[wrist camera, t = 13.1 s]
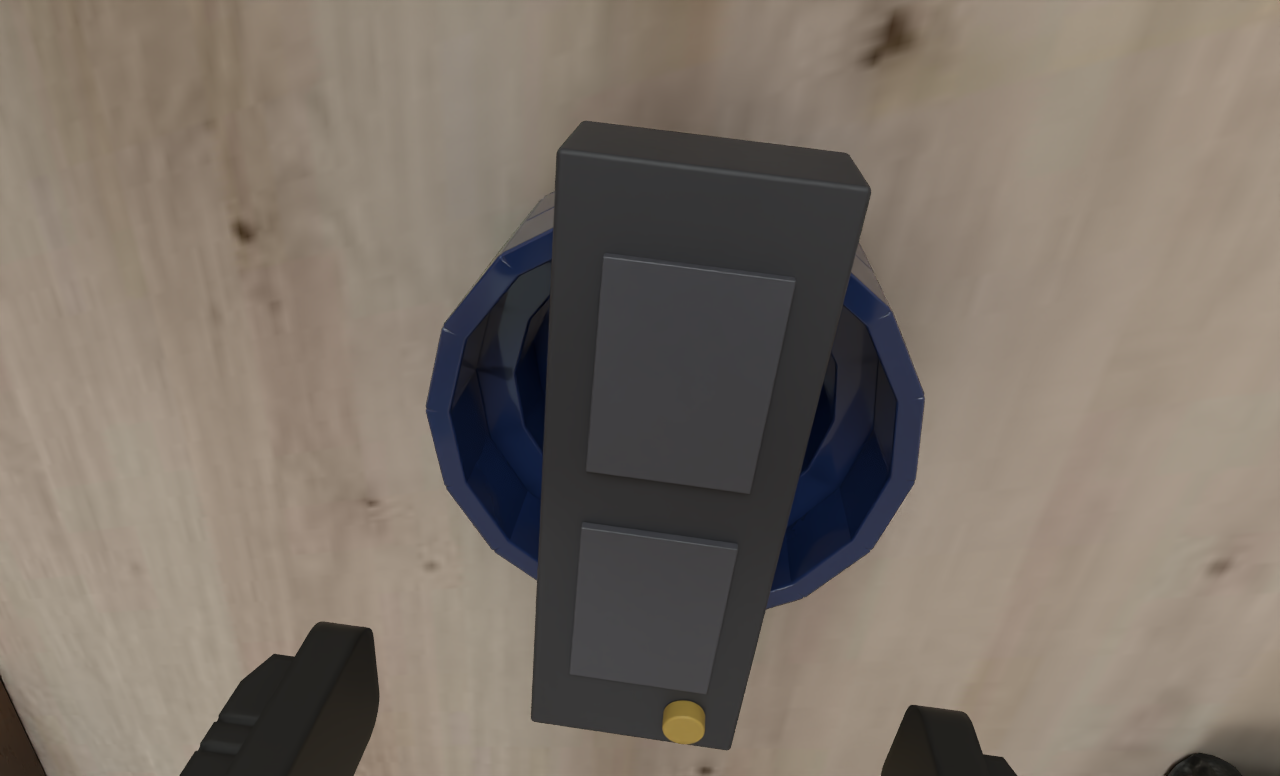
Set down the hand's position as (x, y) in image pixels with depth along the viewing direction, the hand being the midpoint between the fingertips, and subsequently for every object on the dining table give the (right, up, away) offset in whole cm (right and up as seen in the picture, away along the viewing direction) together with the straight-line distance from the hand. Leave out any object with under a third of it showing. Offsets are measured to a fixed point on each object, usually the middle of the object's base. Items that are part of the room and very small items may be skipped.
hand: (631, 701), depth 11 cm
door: (+1, +3, +6) cm, 7 cm away
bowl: (+1, +6, +10) cm, 12 cm away
